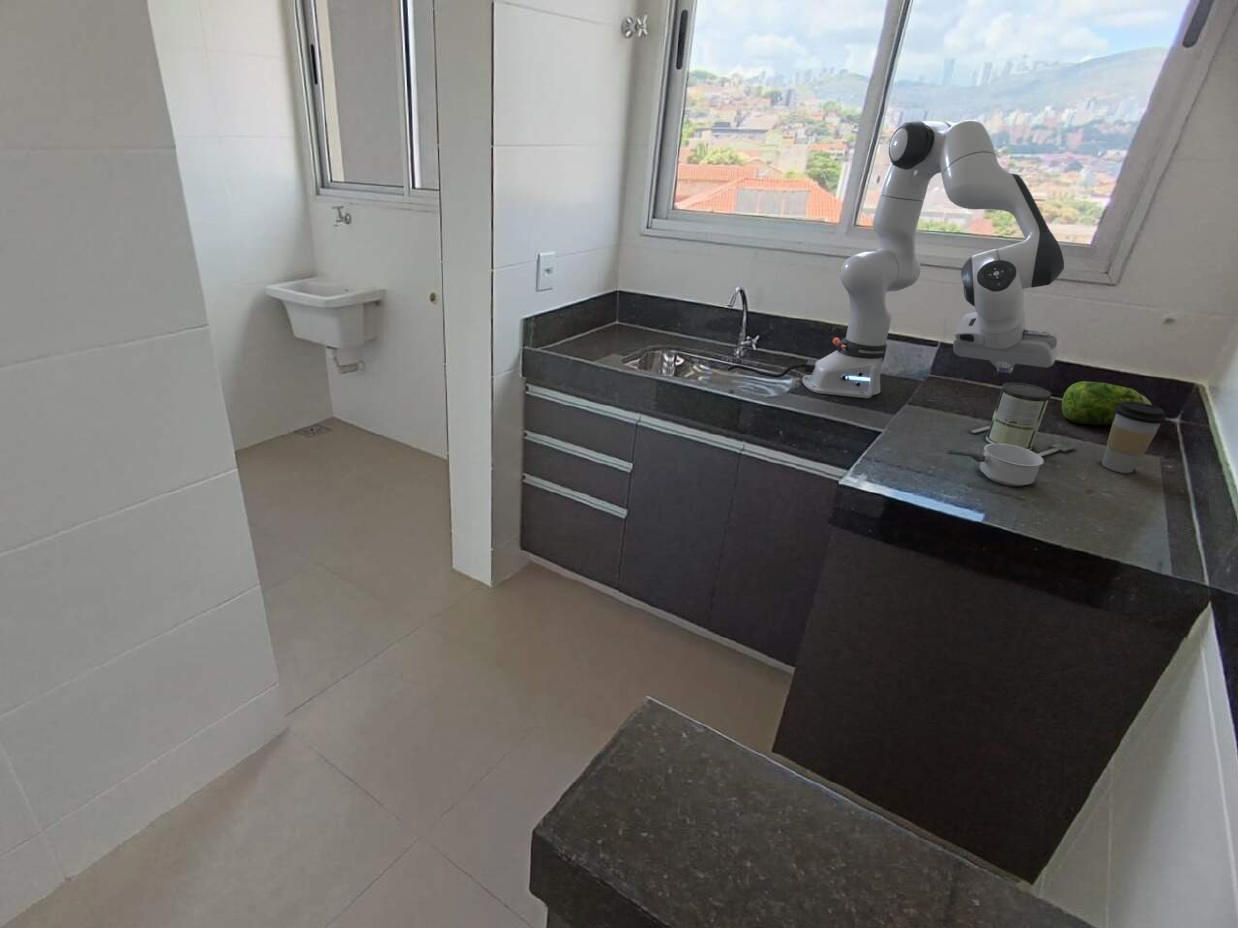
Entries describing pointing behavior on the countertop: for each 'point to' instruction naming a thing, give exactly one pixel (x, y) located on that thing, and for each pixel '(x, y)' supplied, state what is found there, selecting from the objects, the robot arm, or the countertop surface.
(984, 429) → the fork
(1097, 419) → the green oval lump
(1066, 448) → the spoon
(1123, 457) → the coffee cup
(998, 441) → the coffee can
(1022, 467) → the saucepan
